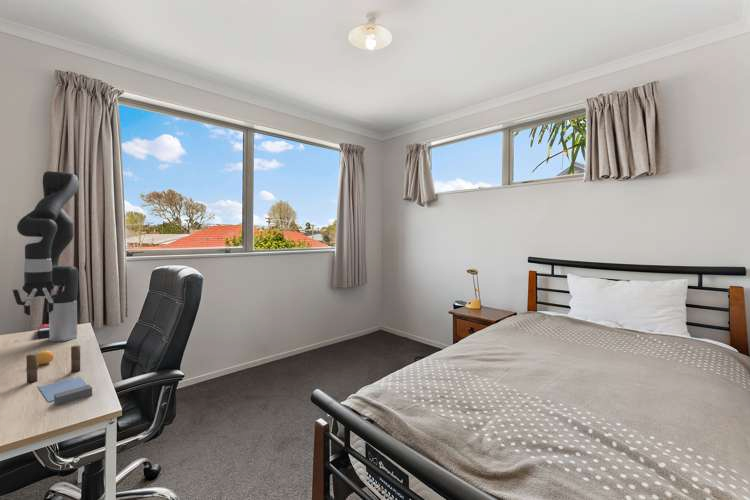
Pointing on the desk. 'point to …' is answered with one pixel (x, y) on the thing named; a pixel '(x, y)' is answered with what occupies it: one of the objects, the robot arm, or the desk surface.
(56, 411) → the desk surface
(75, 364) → the post
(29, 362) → the post
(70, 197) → the robot arm
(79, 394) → the stopper wall
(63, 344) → the desk surface
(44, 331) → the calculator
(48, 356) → the ball
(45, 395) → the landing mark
